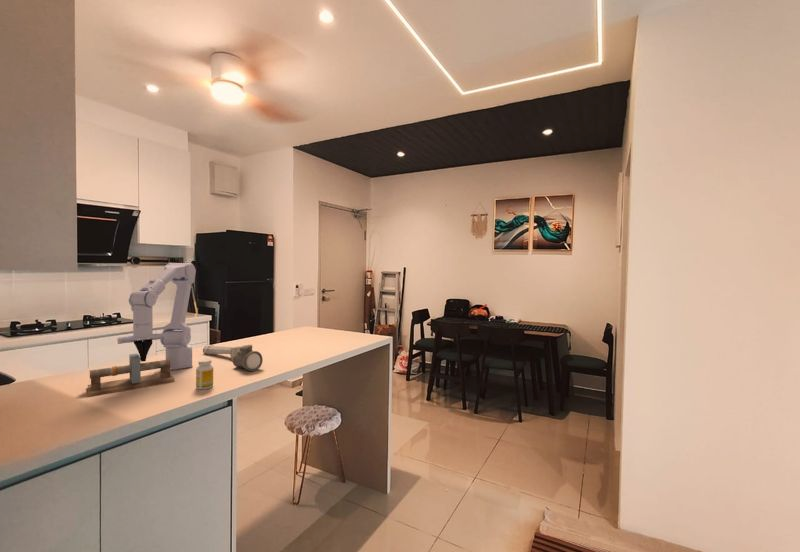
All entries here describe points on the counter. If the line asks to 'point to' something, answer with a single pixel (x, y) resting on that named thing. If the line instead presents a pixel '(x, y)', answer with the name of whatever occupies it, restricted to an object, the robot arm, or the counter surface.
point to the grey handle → (221, 350)
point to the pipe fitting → (248, 358)
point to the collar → (135, 368)
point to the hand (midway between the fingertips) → (143, 360)
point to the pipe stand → (126, 384)
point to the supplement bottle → (204, 374)
